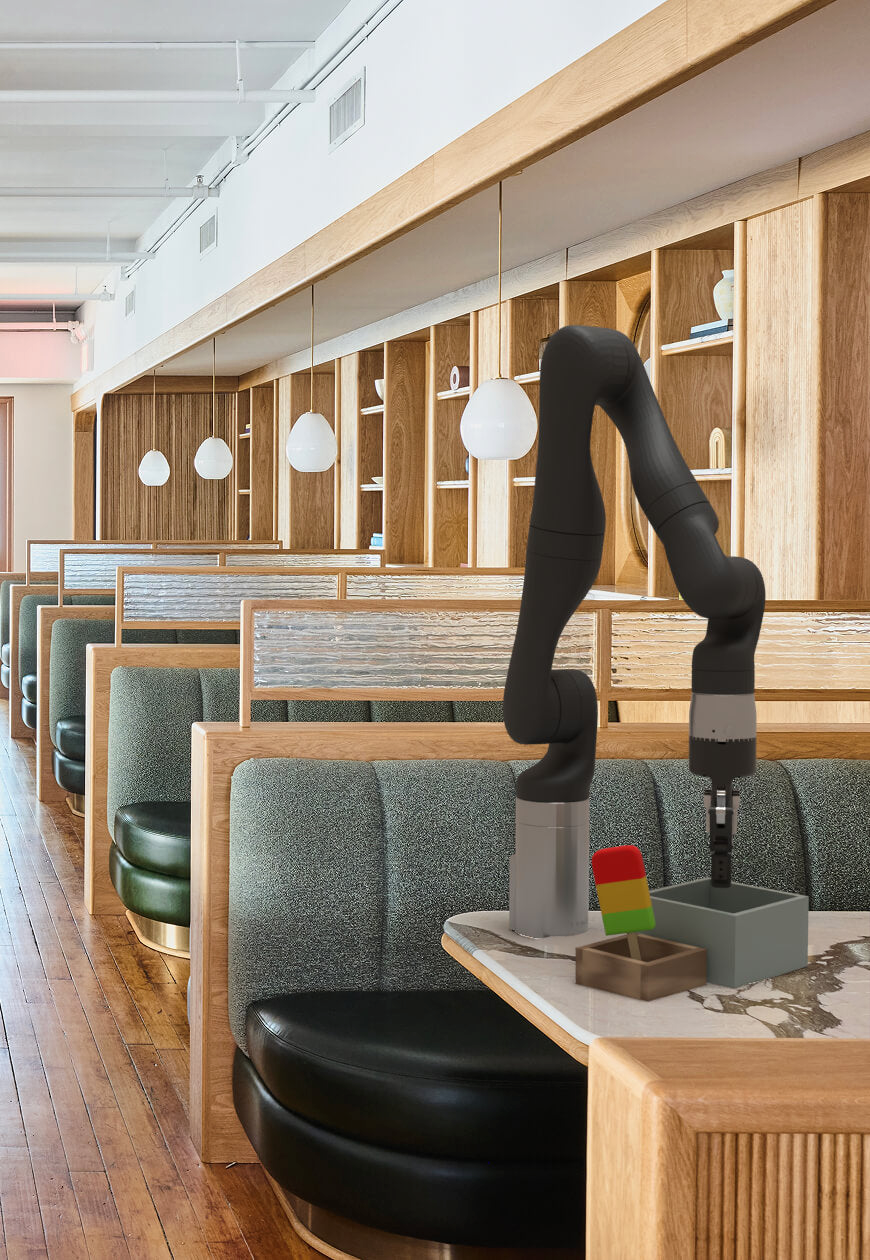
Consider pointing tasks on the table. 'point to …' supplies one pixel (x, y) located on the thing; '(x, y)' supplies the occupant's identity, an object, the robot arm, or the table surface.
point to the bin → (735, 928)
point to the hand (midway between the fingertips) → (721, 883)
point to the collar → (641, 967)
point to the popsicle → (623, 893)
